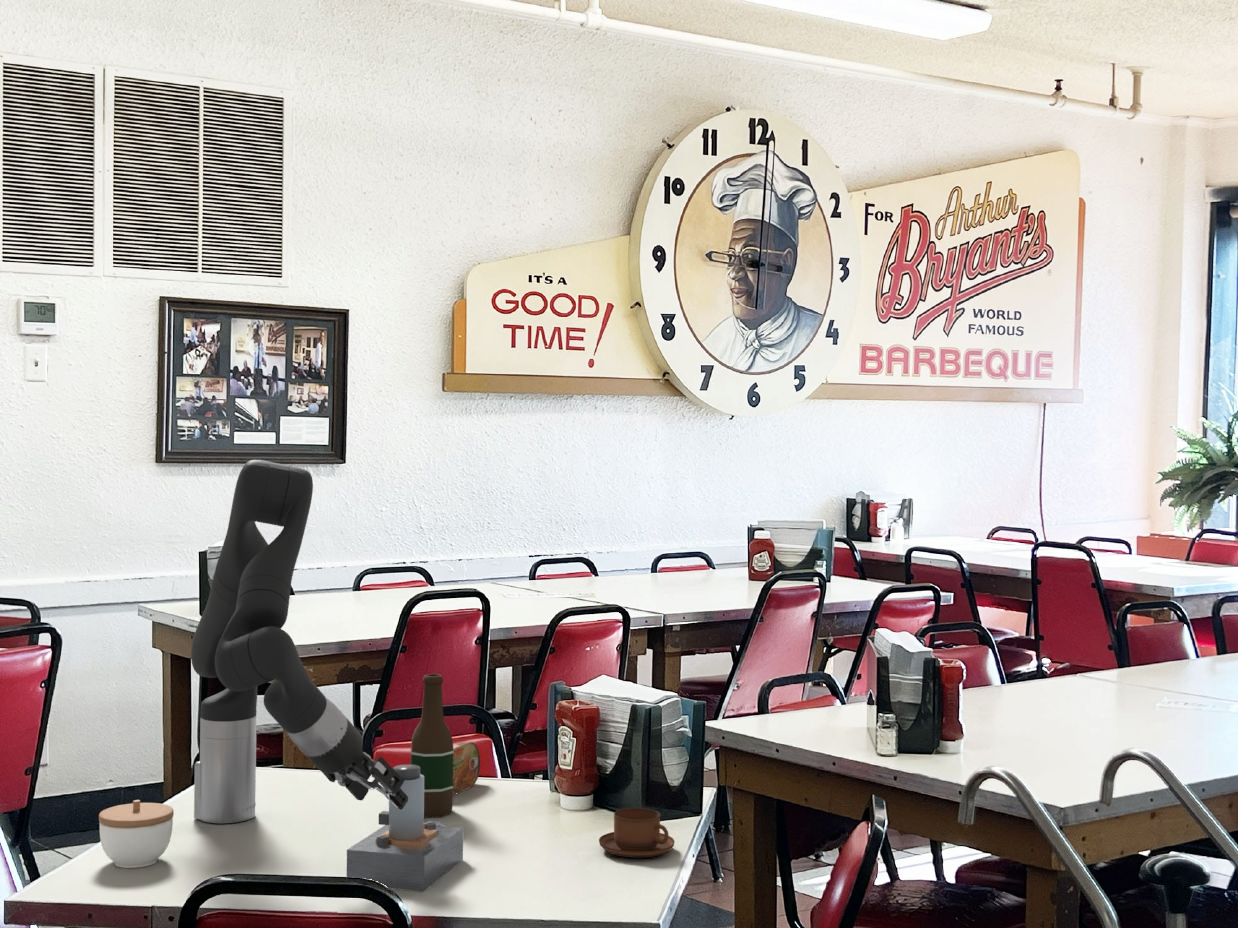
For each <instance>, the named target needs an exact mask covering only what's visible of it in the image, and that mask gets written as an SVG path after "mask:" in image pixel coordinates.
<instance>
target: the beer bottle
mask: <svg viewBox="0 0 1238 928" xmlns="http://www.w3.org/2000/svg"><path fill="white" fill-rule="evenodd" d="M422 682H423V684H424V685H423V699H422V708H421V709H422V710H421V716H420V721H419V723H418V724H417V726H416V727H415V728H414V731H413V734H412V737H411V742H410V743H411V744H410V745H411V746H410V765H417V766H420V774H422V775H424V819H429V818H442V817H446V816H448V815H451V814H452V813H453V804H454V800H453V799H454V798H453V797H454V796H453V745H454V740H453V737H452V733H451V731H450V728H449V726H448V725H447V723H446V721H445V717H444V708H443V704H444V703H443V686H442V684H443V683H444V679H443V675H442V674H440V673H439V674H438V673H428V674H425V675H423V678H422Z"/></svg>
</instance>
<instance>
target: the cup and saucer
mask: <svg viewBox="0 0 1238 928" xmlns="http://www.w3.org/2000/svg"><path fill="white" fill-rule="evenodd" d="M661 831H663V833H661ZM675 842H676V841H675V839H674V838H673V837H671V835H669V831H668V828H667V827H666V826H664V825H662V824H661V813H660V812H659V811H657V810H654V809H651V808H644V807H627V808H622V809H618V810H616V811H615V812H614V813H613V831H612V832H609V833H605V834H603V835H601V836H600V837H599V839H598V844H599V845H600V847H602V850H604V851H605V852H607V853H609V854H613V855H615V856H618V857H619V856H620V857H625V858H634V859H635V858H636V859H637V858H638V859H644V858H653V857H656V856H657V857H658V856H662V855H664V854H666V853H668V852H669V851H670V850H671V849H673V847H674V846H675Z"/></svg>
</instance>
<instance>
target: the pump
mask: <svg viewBox="0 0 1238 928" xmlns="http://www.w3.org/2000/svg"><path fill="white" fill-rule="evenodd" d="M392 768H393V769H394V770H395V771H396V772H397V773H398V774H399V776H400V777H401V778H402V779H403V780H404V783H403V784H402V786H401V790H402V791H403V792H404V793H405V794H406V795H407V796H408V801H407V803H406V804H405V806H404V808H403V809H402V810H399V809H396V808H395V806H394V805H393V804H392V803H391V802H390V801H389V800H388V810H387V811H386V810H382V811H381V812H380V813H378V825H381V826H385V825H389V836H390V837H391V838H395V839H415V838H419V837H421V836H423V835H424V824H425V818H424V775H422V774H420V766H417V765H411V764H398V765H396V766H393V767H392Z"/></svg>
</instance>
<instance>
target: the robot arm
mask: <svg viewBox="0 0 1238 928" xmlns="http://www.w3.org/2000/svg"><path fill="white" fill-rule="evenodd" d="M313 492H314V480H313V476H312V474H311V472H309V471H308V470H307V469H304V468H301V467H297V466H293V465H288V464H282V463H277V462H273V461H268V460H263V459H251V460H249V461H247V462H246V463H244V465H243V466H242V468H241V470H240V472H239V473H238V477H237V480H236V483H235V489H234V492H233V498H232V504H231V510H230V514H229V515H230V516H229V520H228V527H227V531H226V535H225V538H224V541H223V544H222V547H221V551H220V553H219V556H218V558H217V562H216V566H215V570H214V573H213V575H212V576H213V577H212V581H211V582H212V583H211V587H210V591H209V595H208V599H207V603H206V606H205V608H204V611H203V613H202V615H201V618H200V620H199V622H198V624H197V627H196V628H195V632H194V635H193V640H192V642H191V643H192V644H191V651H190V660H191V665H192V668H193V671H194V672H195V673H196V674H197V675H198V676H200V677H203V678H208V679H209V678H210V679H212V678H213V679H215V678H218V680H219V682H220V683H221V684H222V685H223V686H224V687H225V689H224V690H222V691H220V692H217V693H216V694H213V695H211V696H209V697H206V698H205V699H204V700H202V701H201V704H200V714H199V715H200V716H199V717H200V719H199V720H200V723H199V725H200V726H199V727H200V728H199V730H200V732H199V740H200V741H199V761H198V760H197V761H196V762H195V763H194V784H193V785H194V786H193V787H194V797H193V799H194V803H193V819H195V820H200V821H202V822H204V823H209V824H210V823H211V824H234V823H240V822H244V821H248V820H250V819H253V818H254V817H255V815H256V785H257V784H256V783H257V782H256V781H257V780H256V778H257V776H256V774H257V773H256V771H257V706H258V705H257V703H258V702H257V701H258V686H262V685H263V684H266V683H269V682H272V681H273V682H272V683H271V684H270V685H269V686H268V687H267V688H266V690H265V693H264V695H263V706H264V707H265V710H266V711H267V712H268V714H269V715H270V716H271V717H272V718H273V720H275V722H277V724H278V725H279V726H280V727H281V728H282V729H283V730H284V731H285V732H286V733H287V735H288V736H289V738H290V739H291V741H292V742H293V743H294V745H295V746H296V747H297V748H298V749H299V750H300V751H301V752H302V753H303V754H304V756H305V757H306V758H308V760H309V761H310V762H311V763H312V764H313V765H314V766H315V767H316V768H317V769H318V770H319V772H321V773H322V774H323V775H324V776H325V778H326V779H327V780H328V781H329V782H331V783H335V782H336V781H337V784H338V785H339V786H341V787H345V788H346V789H347V790H348V792H349V793H350V794H351V795H352V796H353V797H354V798H355V799H356V800H357V801H364V799H365V798H366V796H367V794H368V793H369V790H370V791H373V790H376V791H378V792H379V793H381V794H382V795H383V796H384V797H385V798H386V799H387V800H388V802H389V801H390V802H391V803H392V804H393V805H394V806H395V808H396V809H399V810H402V809H403V808H404V806H405V804H406V803H407V801H408V796H407V795H406V794H405V793H404V792H403V791H402V790H401V786H402V784H403V783H404V780H403V779H402V778H401V777H400V776H399V774H398V773H397V772H396V771H395V770H394V769H393V768H394V767H393V766H391V765H390V763H388V762H387V760H385V758H383V757H381V756H378V757H377V758H376V760H373V759H372V757H371V755H370V754H368V753H367V752H365V751H363V737H362V734H361V733H360V731H359V730H358V729H357V727H355V726H354V724H353V723H352V722H351V721H350V720H349V718H347V716H346V715H345V714H344V713H343V712H342V711H341V710H340V709H339V708H338V706H337V705H336V704H335V703H334V702H332V701H331V700H330V699H329V698H327V697H326V695H325V694H324V693H323V692H322V691H321V690H320V689H319V688H318V686H316V685H315V683H314V682H313V681H312V679H310V677H309V674H308V673H307V671H306V668H305V666H304V665H303V662H302V660H301V658H300V655H299V652H298V650H297V647H296V645H295V643H294V640H293V638H292V637H291V636H290V635H289V633H288V632H286V631H285V630H283V627H284V625H285V624H286V622H287V618H288V613H289V605H290V598H291V589H292V582H293V581H292V580H293V576H294V575H293V574H294V570H295V567H296V563H297V559H298V557H299V553H300V550H301V546H302V543H303V539H304V534H305V530H306V527H307V523H308V517H309V513H310V511H311V510H310V508H311V504H312V497H313ZM256 522H257V523H261V524H267V525H272V526H277V527H283V528H282V530H281V531H280V532H279V534H278V535H277V536H276V538H274V539H273V540H272V541H271V542H270V543H268V542H267V540H266V539H265V538H264V536H263V535H262V533H261V531H260V530H259V528H258V526H257V524H256ZM370 778H373V780H372V781H369V779H370Z"/></svg>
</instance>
